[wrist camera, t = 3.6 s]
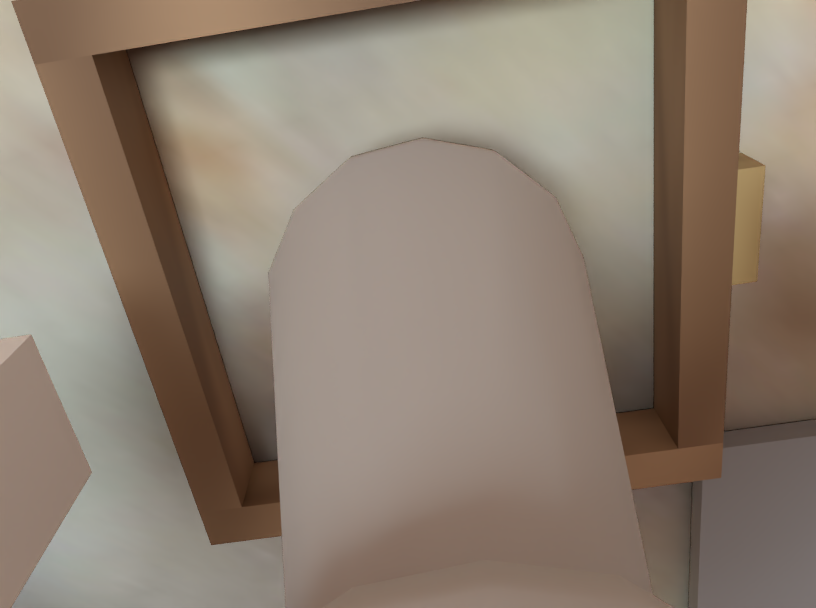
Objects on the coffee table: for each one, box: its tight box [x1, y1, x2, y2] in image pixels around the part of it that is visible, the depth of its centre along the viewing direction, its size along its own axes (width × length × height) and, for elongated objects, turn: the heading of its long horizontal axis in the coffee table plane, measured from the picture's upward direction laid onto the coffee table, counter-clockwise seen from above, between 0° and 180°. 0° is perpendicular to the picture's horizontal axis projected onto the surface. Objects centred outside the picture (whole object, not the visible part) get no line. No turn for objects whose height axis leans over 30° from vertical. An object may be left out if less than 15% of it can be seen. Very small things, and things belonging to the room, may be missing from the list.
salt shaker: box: [268, 138, 674, 608], centre depth 9 cm, size 6×6×13 cm
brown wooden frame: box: [12, 0, 765, 545], centre depth 14 cm, size 13×12×2 cm
